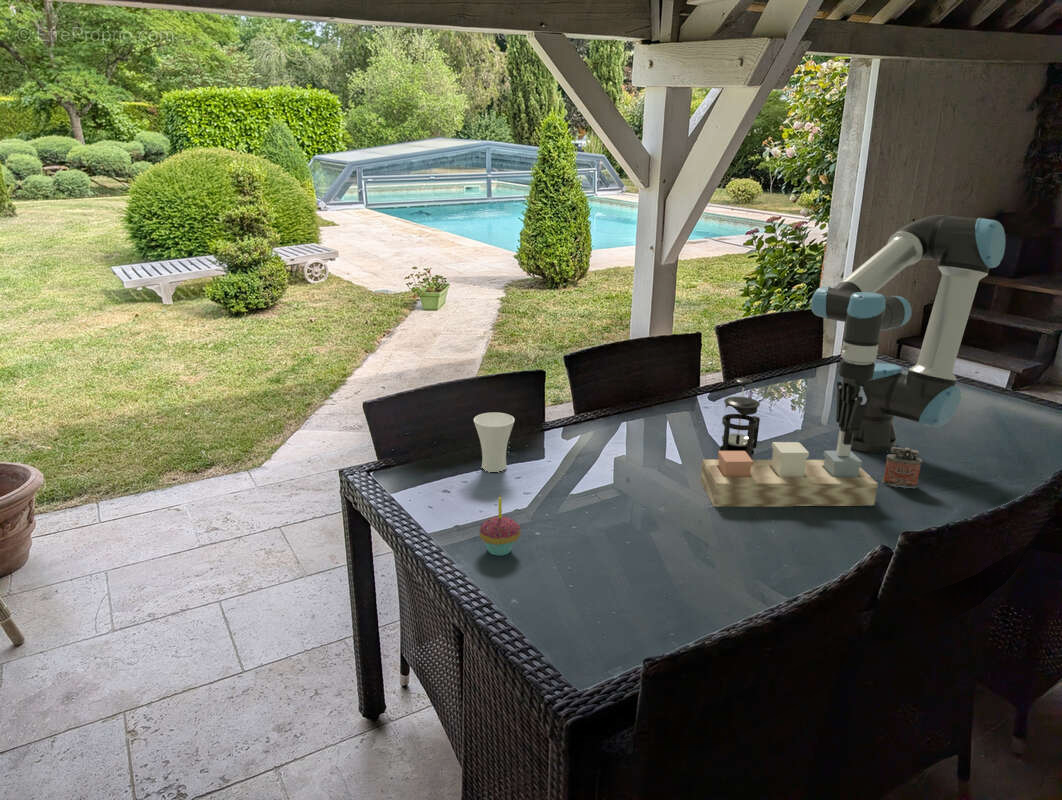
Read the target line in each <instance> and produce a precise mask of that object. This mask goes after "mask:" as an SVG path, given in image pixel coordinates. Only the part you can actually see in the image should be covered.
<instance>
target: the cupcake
mask: <svg viewBox="0 0 1062 800" xmlns="http://www.w3.org/2000/svg"><path fill="white" fill-rule="evenodd" d="M502 498H503V497H502V496H501V495H499V497H498V505H497V506H498V515H497V516H493V517H489V518H488V519H487V520H485V521H483V523H481V525H480V527H479V538H480V539H481V540H482V541H483V542H484V543H485V546H486V548H487V552H488V553H489V554H491V555H493V556H499V557H501V556H506V555H508V554H509V553H511V551H512V548H513V544H514V543H515V542H516V541H517V540H518V539H519V538H520V536H521V533H522V531H521V529H522V528H521V526H520V525H519V524H518V522H517V521H515V519H513V518H511V517H508V516H503V513H502V511H503V510H502V509H503V507H502V503H503V501H502Z"/></svg>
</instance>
